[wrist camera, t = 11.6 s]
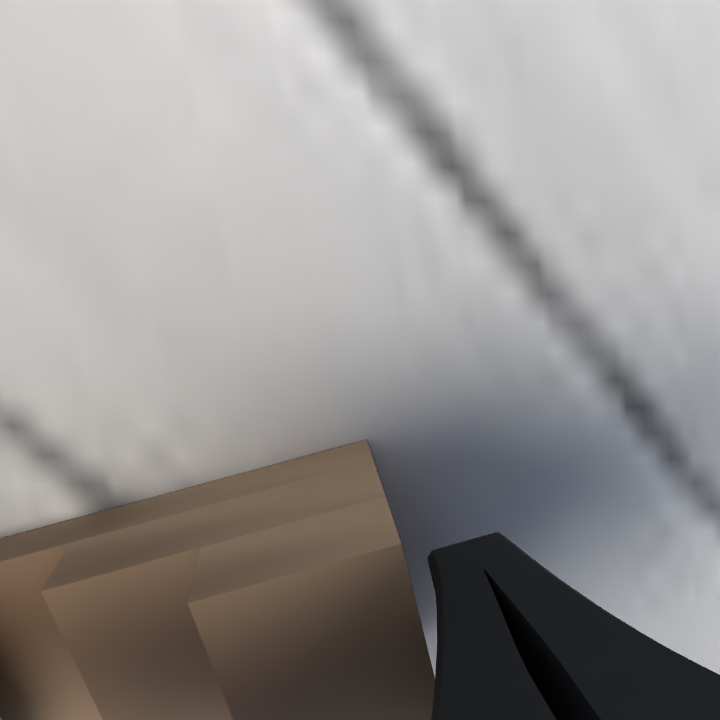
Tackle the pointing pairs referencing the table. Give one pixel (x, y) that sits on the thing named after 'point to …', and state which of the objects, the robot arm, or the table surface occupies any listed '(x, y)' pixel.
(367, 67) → the table surface
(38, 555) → the block
